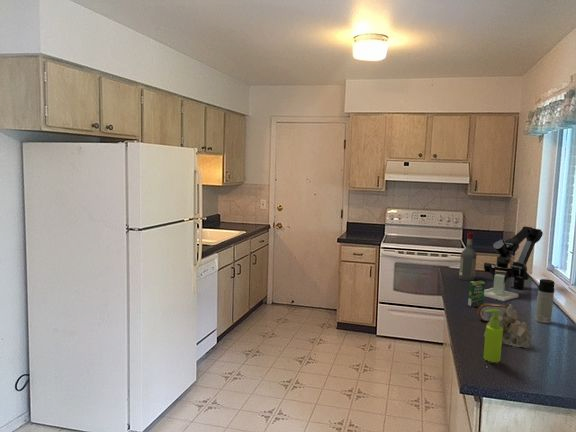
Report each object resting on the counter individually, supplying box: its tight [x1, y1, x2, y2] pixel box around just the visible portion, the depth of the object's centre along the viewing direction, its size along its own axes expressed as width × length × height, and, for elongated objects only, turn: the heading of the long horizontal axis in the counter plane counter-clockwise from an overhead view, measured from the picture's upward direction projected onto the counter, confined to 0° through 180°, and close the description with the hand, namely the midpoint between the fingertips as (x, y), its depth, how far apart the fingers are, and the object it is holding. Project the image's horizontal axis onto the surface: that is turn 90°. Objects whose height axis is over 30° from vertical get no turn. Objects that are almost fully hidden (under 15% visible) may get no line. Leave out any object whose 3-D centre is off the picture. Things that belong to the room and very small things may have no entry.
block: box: [492, 273, 506, 294], centre depth 273 cm, size 5×5×10 cm
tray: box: [484, 287, 519, 302], centre depth 274 cm, size 15×15×2 cm
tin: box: [476, 302, 508, 322], centre depth 229 cm, size 15×3×8 cm, turn 84°
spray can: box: [534, 278, 555, 324], centre depth 231 cm, size 7×7×20 cm
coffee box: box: [467, 280, 486, 308], centre depth 253 cm, size 8×3×13 cm, turn 107°
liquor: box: [458, 232, 477, 282], centre depth 310 cm, size 9×9×30 cm
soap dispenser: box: [483, 309, 503, 362], centre depth 182 cm, size 6×7×20 cm
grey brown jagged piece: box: [483, 303, 532, 347], centre depth 203 cm, size 16×16×15 cm
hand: (499, 281), depth 272 cm, fingers closed on block, 5 cm apart
